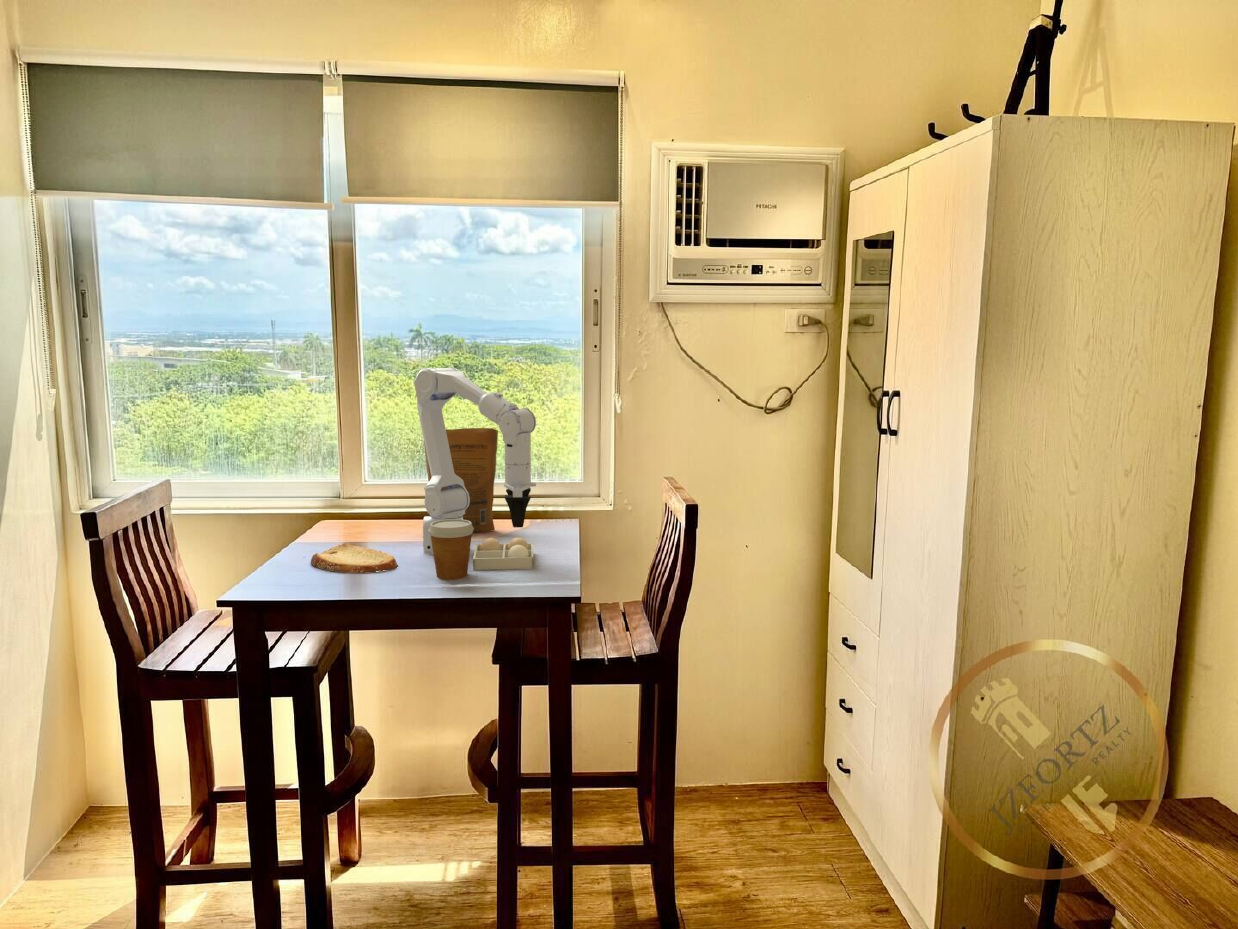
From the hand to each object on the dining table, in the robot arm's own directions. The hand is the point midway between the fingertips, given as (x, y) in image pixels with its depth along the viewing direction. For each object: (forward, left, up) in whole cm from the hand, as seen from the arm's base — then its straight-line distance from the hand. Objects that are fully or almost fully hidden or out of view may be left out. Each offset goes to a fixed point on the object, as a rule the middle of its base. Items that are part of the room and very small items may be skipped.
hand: (518, 523), depth 180 cm
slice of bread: (-37, +5, -10) cm, 39 cm away
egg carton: (-3, +2, -10) cm, 11 cm away
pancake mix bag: (-15, +36, -10) cm, 40 cm away
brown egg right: (0, +6, -9) cm, 11 cm away
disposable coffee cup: (-14, -9, -10) cm, 19 cm away
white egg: (0, -1, -9) cm, 9 cm away
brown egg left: (-6, +6, -9) cm, 13 cm away
